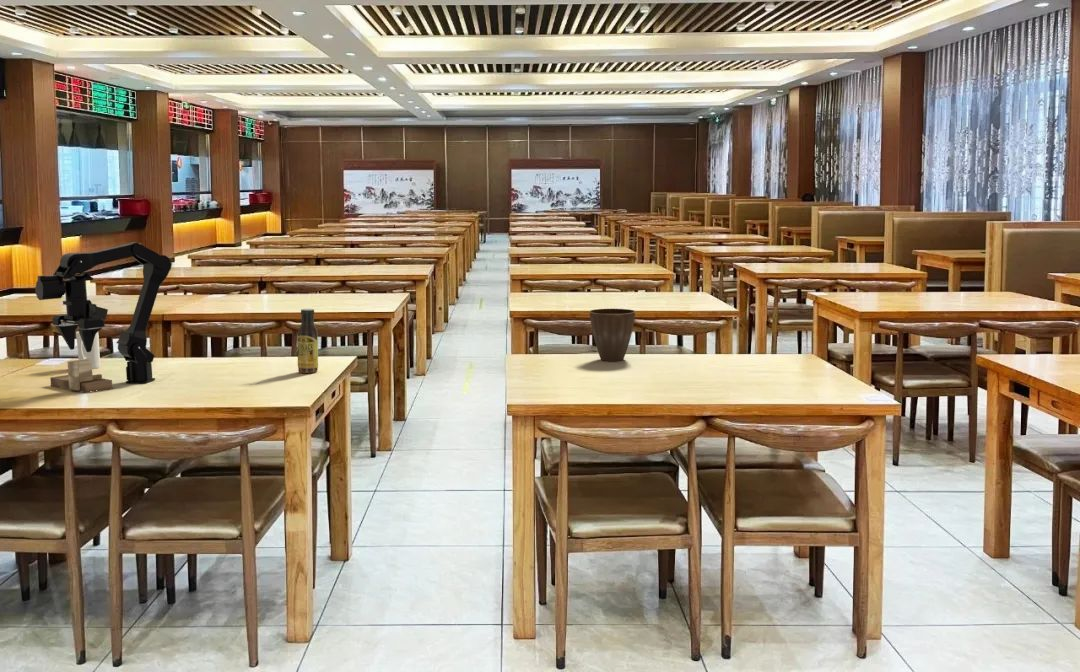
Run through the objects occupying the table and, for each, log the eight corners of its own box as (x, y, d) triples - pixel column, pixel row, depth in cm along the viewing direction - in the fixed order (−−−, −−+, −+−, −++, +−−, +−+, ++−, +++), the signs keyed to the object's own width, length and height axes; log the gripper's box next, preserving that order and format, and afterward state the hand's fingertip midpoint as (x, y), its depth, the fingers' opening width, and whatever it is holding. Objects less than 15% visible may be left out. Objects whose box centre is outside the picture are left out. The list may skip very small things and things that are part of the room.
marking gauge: (105, 385, 319) (103, 358, 318) (76, 390, 312) (74, 362, 311) (97, 384, 321) (95, 357, 320) (69, 389, 314) (67, 361, 313)
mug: (83, 366, 359) (81, 330, 357) (104, 365, 359) (101, 329, 357) (70, 371, 349) (68, 334, 347) (91, 371, 349) (89, 334, 347)
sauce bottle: (294, 373, 338) (291, 310, 335) (303, 370, 344) (300, 308, 341) (314, 374, 336) (311, 310, 334) (322, 370, 342) (320, 308, 340)
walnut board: (112, 388, 318) (111, 379, 317) (86, 392, 311) (86, 383, 311) (76, 381, 330) (75, 373, 329) (50, 385, 324) (50, 377, 323)
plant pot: (636, 356, 362) (636, 308, 360) (634, 363, 347) (633, 313, 345) (592, 355, 364) (591, 308, 362) (587, 363, 349) (587, 313, 347)
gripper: (119, 296, 313) (123, 349, 315) (85, 292, 324) (89, 344, 326) (83, 299, 304) (87, 354, 306) (49, 296, 315) (53, 349, 318)
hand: (80, 350), depth 314 cm, fingers open, 9 cm apart
